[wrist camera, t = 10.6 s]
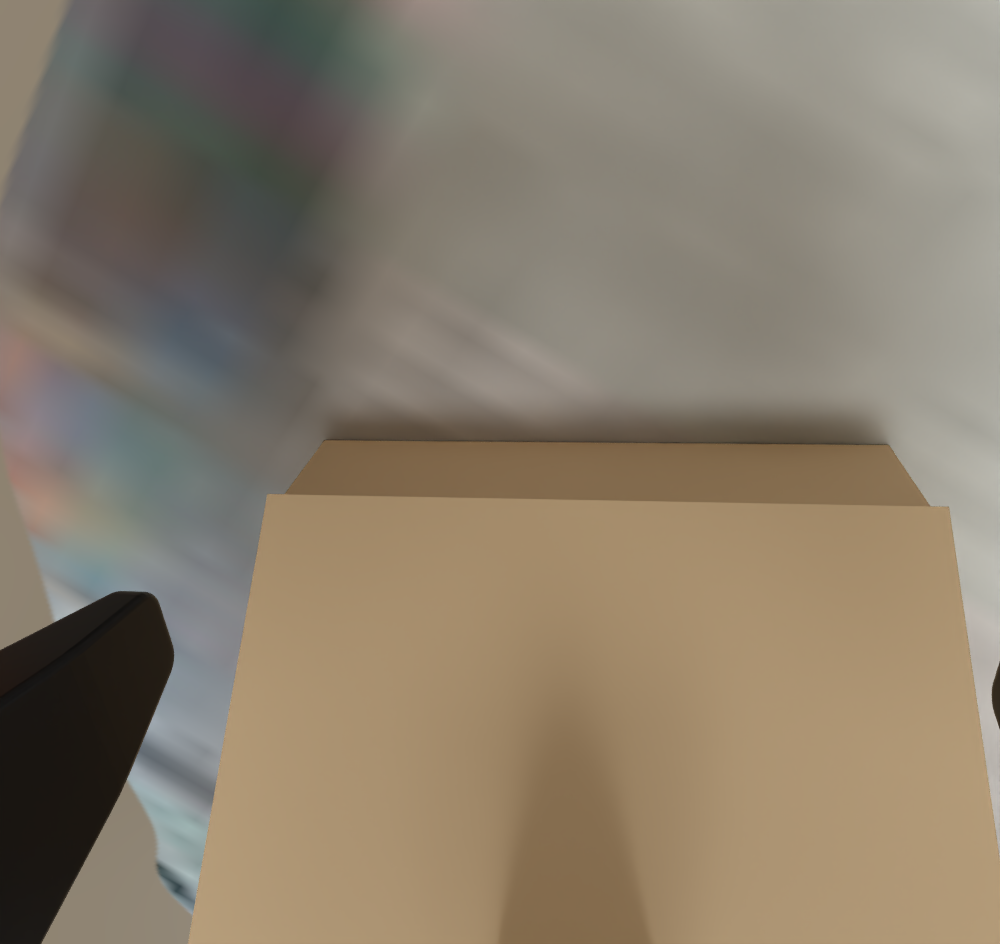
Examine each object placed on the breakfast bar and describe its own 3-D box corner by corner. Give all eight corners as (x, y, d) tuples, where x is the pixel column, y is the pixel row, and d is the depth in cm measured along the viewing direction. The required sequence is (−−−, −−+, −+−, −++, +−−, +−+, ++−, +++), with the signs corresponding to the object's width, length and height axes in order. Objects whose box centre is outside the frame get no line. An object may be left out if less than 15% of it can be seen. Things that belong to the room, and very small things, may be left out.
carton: (824, 776, 26) (852, 874, 23) (378, 747, 28) (348, 833, 25) (889, 444, 20) (937, 516, 17) (324, 440, 22) (278, 503, 19)
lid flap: (1035, 1219, 13) (1281, 1472, 8) (173, 1103, 15) (-26, 1252, 10) (937, 515, 17) (1063, 415, 12) (277, 502, 19) (169, 412, 15)
